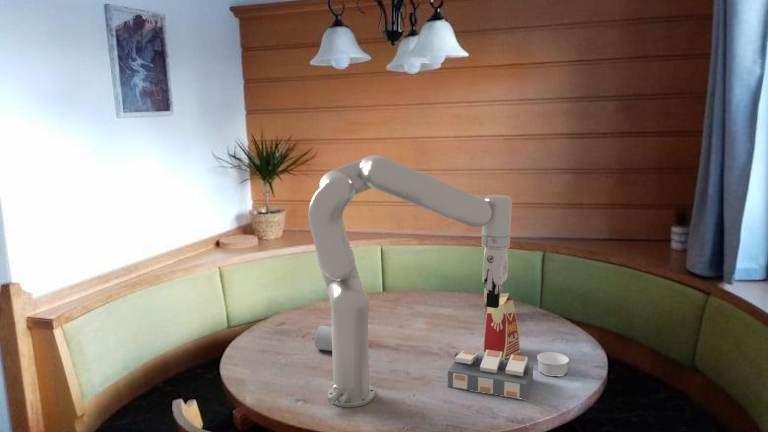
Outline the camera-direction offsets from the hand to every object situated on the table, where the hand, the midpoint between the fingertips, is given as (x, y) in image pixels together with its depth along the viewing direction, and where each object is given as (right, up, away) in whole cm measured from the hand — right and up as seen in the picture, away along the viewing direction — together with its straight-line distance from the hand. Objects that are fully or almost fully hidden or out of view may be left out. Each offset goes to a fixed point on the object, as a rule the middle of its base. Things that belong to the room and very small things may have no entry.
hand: (492, 306), depth 157 cm
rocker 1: (-6, -15, +5) cm, 17 cm away
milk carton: (+7, -18, +24) cm, 31 cm away
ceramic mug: (-46, -18, +29) cm, 58 cm away
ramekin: (+19, -21, +10) cm, 30 cm away
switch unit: (0, -22, +3) cm, 22 cm away
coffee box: (+11, -13, +57) cm, 59 cm away
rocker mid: (0, -15, +2) cm, 16 cm away
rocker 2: (+7, -16, 0) cm, 17 cm away
